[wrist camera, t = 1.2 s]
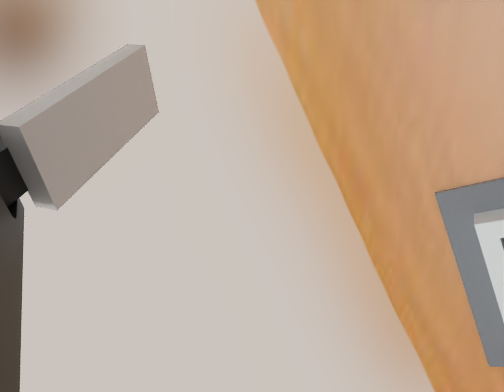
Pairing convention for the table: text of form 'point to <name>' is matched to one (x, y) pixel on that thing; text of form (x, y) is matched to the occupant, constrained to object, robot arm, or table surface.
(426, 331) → the table surface
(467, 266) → the collar plate
